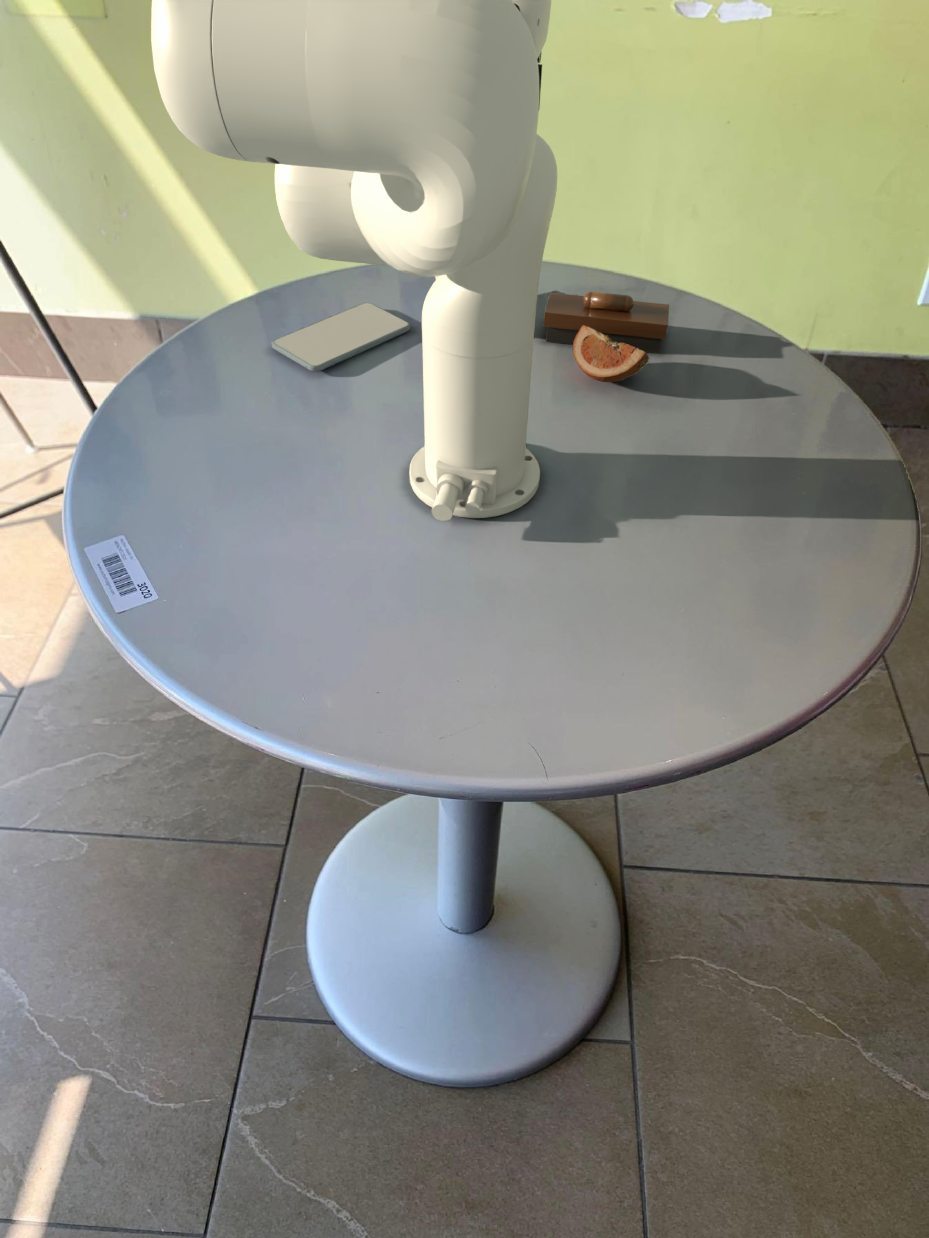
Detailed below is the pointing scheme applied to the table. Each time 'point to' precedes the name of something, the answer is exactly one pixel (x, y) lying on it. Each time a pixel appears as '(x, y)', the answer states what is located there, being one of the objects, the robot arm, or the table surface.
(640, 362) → the fruit slice
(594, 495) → the table surface
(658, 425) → the table surface
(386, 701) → the table surface
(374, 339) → the smartphone
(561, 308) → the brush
